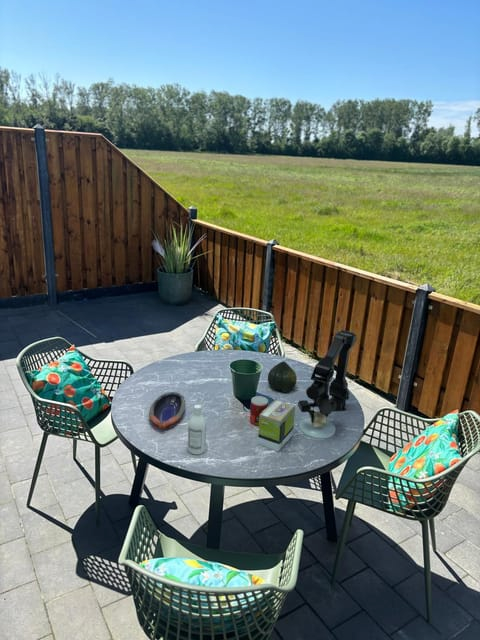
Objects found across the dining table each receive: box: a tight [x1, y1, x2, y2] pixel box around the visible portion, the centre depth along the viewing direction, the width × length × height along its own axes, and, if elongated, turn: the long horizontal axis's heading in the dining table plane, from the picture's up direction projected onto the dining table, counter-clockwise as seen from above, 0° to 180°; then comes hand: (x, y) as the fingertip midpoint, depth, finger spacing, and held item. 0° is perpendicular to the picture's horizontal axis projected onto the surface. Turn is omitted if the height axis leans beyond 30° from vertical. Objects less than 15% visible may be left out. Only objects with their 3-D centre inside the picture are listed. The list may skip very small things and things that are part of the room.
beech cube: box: [311, 410, 327, 427], centre depth 203 cm, size 5×5×5 cm
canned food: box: [249, 395, 269, 427], centre depth 206 cm, size 8×8×11 cm
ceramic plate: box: [298, 416, 336, 440], centre depth 204 cm, size 16×16×1 cm
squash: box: [267, 361, 298, 393], centre depth 239 cm, size 14×15×15 cm
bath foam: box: [187, 404, 207, 455], centre depth 182 cm, size 7×7×20 cm
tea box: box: [257, 399, 296, 452], centre depth 192 cm, size 15×10×15 cm, turn 150°
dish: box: [148, 391, 186, 430], centre depth 208 cm, size 16×31×5 cm, turn 175°
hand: (317, 421), depth 203 cm, fingers closed on beech cube, 5 cm apart
